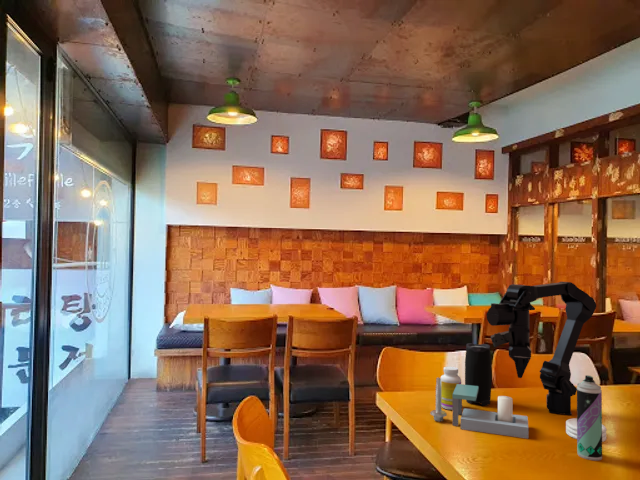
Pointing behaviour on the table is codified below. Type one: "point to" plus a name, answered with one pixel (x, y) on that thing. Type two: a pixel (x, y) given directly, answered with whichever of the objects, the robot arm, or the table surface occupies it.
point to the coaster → (572, 429)
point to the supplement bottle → (449, 386)
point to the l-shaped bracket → (462, 393)
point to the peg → (505, 409)
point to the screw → (438, 403)
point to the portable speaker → (479, 371)
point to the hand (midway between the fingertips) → (519, 374)
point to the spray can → (589, 419)
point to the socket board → (494, 423)
